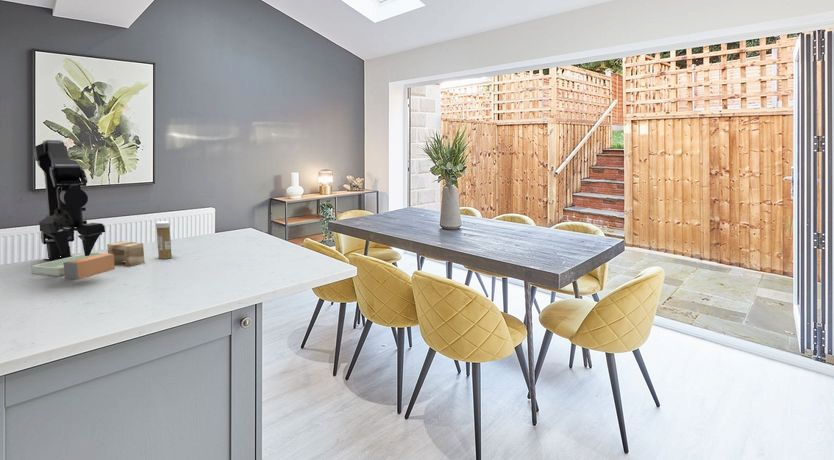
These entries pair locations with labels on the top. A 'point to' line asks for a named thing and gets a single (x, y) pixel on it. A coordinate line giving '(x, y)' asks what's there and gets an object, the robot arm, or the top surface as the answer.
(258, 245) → the top surface
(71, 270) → the orange rectangular block
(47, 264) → the tray
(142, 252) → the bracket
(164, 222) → the sprinkles bottle
